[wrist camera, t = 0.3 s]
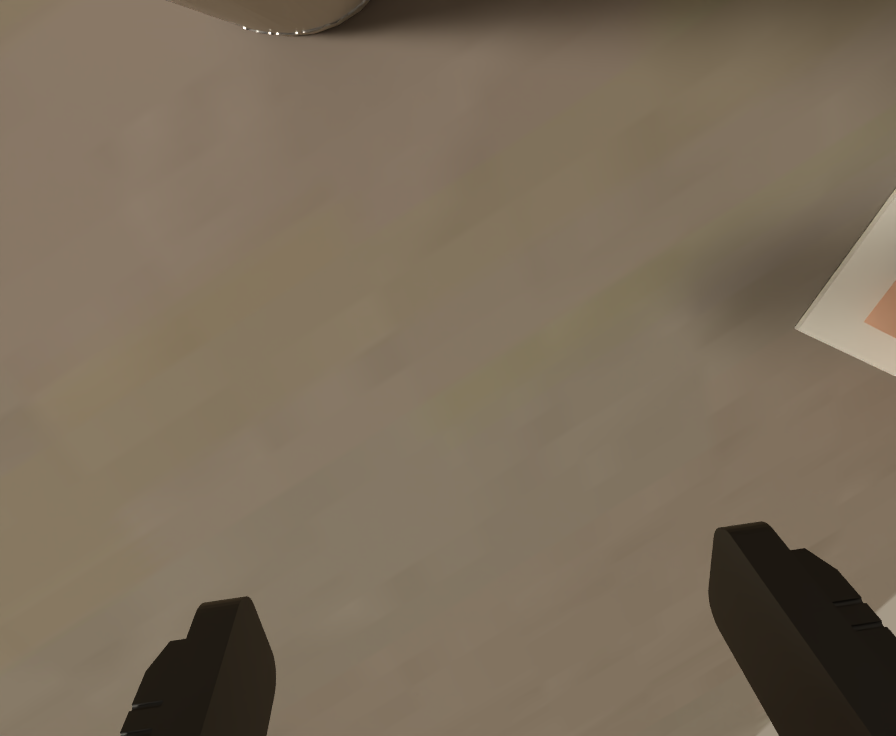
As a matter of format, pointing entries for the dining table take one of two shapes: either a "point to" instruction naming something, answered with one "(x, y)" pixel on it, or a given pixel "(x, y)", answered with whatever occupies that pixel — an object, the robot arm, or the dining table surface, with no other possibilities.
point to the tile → (885, 313)
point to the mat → (859, 296)
